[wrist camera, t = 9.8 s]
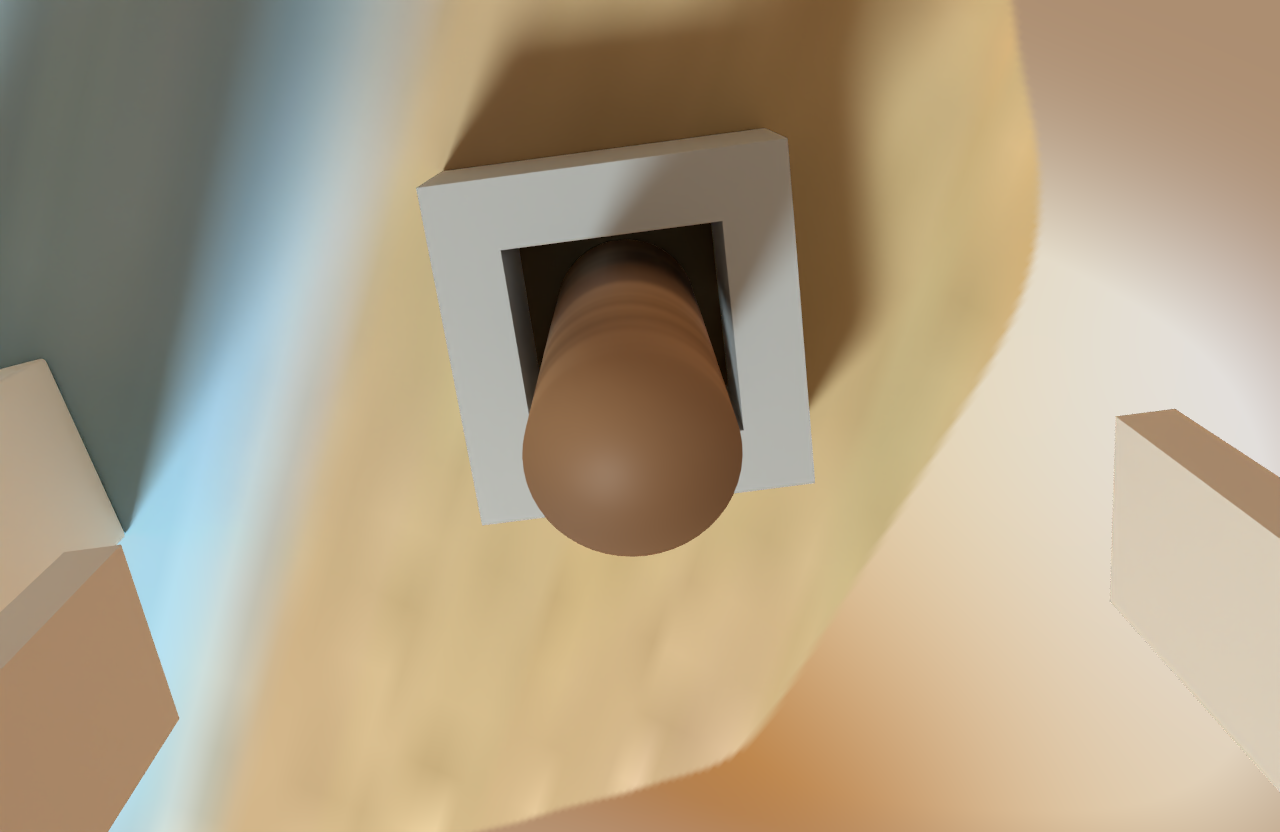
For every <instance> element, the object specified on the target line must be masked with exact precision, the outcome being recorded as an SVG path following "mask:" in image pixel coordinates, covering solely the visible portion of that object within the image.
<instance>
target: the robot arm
mask: <svg viewBox="0 0 1280 832" xmlns="http://www.w3.org/2000/svg"><path fill="white" fill-rule="evenodd" d="M1113 490H1114V491H1113V521H1112V551H1111V552H1112V553H1111V581H1110V582H1111V584H1110V602H1111V603H1112V604H1113V605H1114V607H1115V608H1116V609H1117V610H1118V611H1119V612H1120V613H1121V614H1122V616H1123V617H1124V618H1125V619H1126V620H1127V621H1128V622H1129V623H1130V625H1131V626H1132V627H1133V628H1134V629H1135V630H1136V631H1137V632H1138V634H1139V635H1140V636H1141V637H1142V638H1143V639H1144V640H1145V641H1146V643H1147V644H1149V646H1150V647H1151V648H1152V649H1153V650H1154V651H1155V653H1156V654H1157V655H1158V656H1159V657H1160V658H1161V659H1162V660H1163V662H1164V663H1165V664H1166V665H1167V666H1168V667H1169V668H1170V669H1171V671H1172V672H1173V673H1174V674H1175V675H1176V676H1177V677H1178V678H1179V680H1180V681H1181V682H1182V683H1183V684H1184V685H1185V686H1186V688H1187V689H1188V690H1189V691H1190V692H1191V693H1192V694H1193V695H1194V697H1195V698H1196V699H1197V700H1198V701H1199V702H1200V703H1201V704H1202V705H1203V707H1204V708H1205V709H1206V710H1207V711H1208V712H1209V713H1210V715H1211V716H1212V717H1213V718H1214V719H1215V720H1216V721H1217V722H1218V723H1219V725H1220V726H1221V727H1222V728H1223V729H1224V730H1225V731H1226V732H1227V734H1228V735H1229V736H1230V737H1231V738H1232V739H1233V740H1234V741H1235V743H1237V745H1238V746H1239V747H1240V748H1241V749H1242V750H1243V752H1244V753H1245V754H1246V755H1247V756H1248V757H1249V758H1250V759H1251V761H1252V762H1253V763H1254V764H1255V765H1256V766H1257V767H1258V768H1259V770H1260V771H1261V772H1262V773H1263V774H1264V775H1265V776H1266V777H1267V779H1268V780H1269V781H1270V782H1271V783H1272V784H1273V785H1274V786H1275V788H1276V789H1277V790H1278V791H1279V792H1280V477H1278V476H1277V475H1275V474H1274V473H1272V472H1271V471H1269V470H1267V469H1266V468H1264V467H1263V466H1261V465H1260V464H1258V463H1257V462H1255V461H1254V460H1252V459H1251V458H1249V457H1248V456H1246V455H1244V454H1243V453H1242V452H1240V451H1238V450H1237V449H1235V448H1234V447H1232V446H1231V445H1229V444H1228V443H1226V442H1225V441H1223V440H1222V439H1220V438H1219V437H1217V436H1215V435H1214V434H1213V433H1211V432H1209V431H1208V430H1206V429H1205V428H1203V427H1202V426H1200V425H1199V424H1197V423H1196V422H1194V421H1193V420H1191V419H1190V418H1188V417H1187V416H1185V415H1183V414H1182V413H1180V412H1179V411H1177V410H1176V409H1170V410H1162V411H1155V412H1147V413H1139V414H1132V415H1124V416H1116V427H1115V459H1114V489H1113ZM178 720H179V716H178V713H177V710H176V707H175V704H174V701H173V698H172V695H171V692H170V689H169V686H168V683H167V680H166V677H165V674H164V671H163V669H162V666H161V663H160V660H159V657H158V654H157V651H156V648H155V645H154V642H153V639H152V636H151V633H150V630H149V627H148V624H147V621H146V618H145V615H144V612H143V609H142V606H141V603H140V600H139V597H138V594H137V591H136V588H135V585H134V582H133V579H132V576H131V573H130V570H129V567H128V564H127V561H126V558H125V555H124V552H123V549H122V546H121V545H115V546H107V547H100V548H92V549H84V550H76V551H69V552H64V553H62V554H61V555H60V556H59V557H58V558H57V559H56V560H55V561H54V562H53V563H52V564H51V565H50V566H49V567H48V568H47V569H46V570H44V571H43V572H42V573H41V574H40V575H39V576H38V577H37V578H36V579H35V580H34V581H33V582H32V583H31V584H30V585H29V586H27V587H26V588H25V589H24V590H23V591H22V592H21V593H20V594H19V595H18V596H17V597H16V598H15V599H14V600H13V601H12V602H11V603H9V604H8V605H7V606H6V607H5V608H4V609H3V610H2V611H1V612H0V832H108V831H109V829H110V828H111V826H112V824H113V823H114V821H115V820H116V818H117V816H118V815H119V813H120V812H121V810H122V809H123V807H124V805H125V804H126V802H127V801H128V799H129V797H130V796H131V794H132V793H133V791H134V790H135V788H136V786H137V785H138V783H139V782H140V780H141V778H142V777H143V775H144V774H145V772H146V771H147V769H148V767H149V766H150V764H151V763H152V761H153V759H154V758H155V756H156V755H157V753H158V751H159V750H160V748H161V747H162V745H163V744H164V742H165V740H166V739H167V737H168V736H169V734H170V732H171V731H172V729H173V728H174V726H175V725H176V723H177V721H178Z"/></svg>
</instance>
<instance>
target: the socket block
mask: <svg viewBox="0 0 1280 832" xmlns="http://www.w3.org/2000/svg"><path fill="white" fill-rule="evenodd" d="M416 189H417V194H418V200H419V205H420V210H421V215H422V220H423V225H424V230H425V235H426V240H427V246H428V251H429V256H430V261H431V266H432V271H433V276H434V281H435V286H436V292H437V297H438V302H439V307H440V312H441V317H442V322H443V327H444V332H445V338H446V343H447V348H448V353H449V358H450V363H451V368H452V373H453V378H454V384H455V389H456V394H457V399H458V404H459V409H460V414H461V419H462V424H463V430H464V435H465V440H466V445H467V450H468V455H469V460H470V465H471V470H472V476H473V481H474V486H475V491H476V496H477V501H478V506H479V511H480V517H481V522H482V525H489V524H497V523H505V522H513V521H520V520H528V519H536V518H544V517H545V516H544V515H543V513H542V512H541V511H540V509H539V508H538V506H537V504H536V503H535V501H534V499H533V497H532V495H531V493H530V490H529V488H528V485H527V482H526V478H525V474H524V469H523V460H522V450H523V440H524V434H525V429H526V425H527V421H528V417H529V413H530V409H531V404H532V400H533V396H534V392H535V388H536V384H537V380H538V376H539V372H540V371H539V365H538V359H537V353H536V347H535V341H534V335H533V329H532V323H531V317H530V311H529V305H528V299H527V293H526V287H525V281H524V275H523V269H522V263H521V257H520V251H519V248H522V247H530V246H537V245H545V244H552V243H560V242H567V241H575V240H582V239H590V238H597V237H605V236H613V235H620V234H628V233H635V232H643V231H650V230H658V229H665V228H673V227H680V226H688V225H696V224H703V223H711V228H712V238H713V247H714V257H715V266H716V276H717V285H718V295H719V304H720V314H721V323H722V333H723V342H724V352H725V361H726V371H727V380H728V385H725V387H726V390H727V393H728V395H729V398H730V401H731V404H732V407H733V410H734V413H735V416H736V419H737V422H738V425H739V429H740V433H741V439H742V452H743V458H742V467H741V473H740V477H739V481H738V484H737V486H736V489H735V491H734V493H740V492H748V491H756V490H764V489H772V488H780V487H788V486H795V485H803V484H811V483H815V477H814V464H813V451H812V439H811V426H810V413H809V401H808V388H807V376H806V363H805V350H804V338H803V325H802V313H801V300H800V287H799V275H798V262H797V249H796V237H795V224H794V212H793V199H792V186H791V174H790V161H789V149H788V138H786V137H784V136H782V135H779V134H777V133H775V132H773V131H771V130H768V129H766V128H761V129H753V130H746V131H738V132H731V133H723V134H716V135H708V136H701V137H693V138H686V139H679V140H671V141H664V142H656V143H649V144H641V145H634V146H626V147H619V148H611V149H604V150H597V151H589V152H582V153H574V154H567V155H559V156H552V157H544V158H537V159H529V160H522V161H515V162H507V163H500V164H492V165H485V166H477V167H470V168H462V169H455V170H447V171H442V172H440V173H439V174H437V175H436V176H434V177H433V178H431V179H429V180H428V181H426V182H425V183H423V184H422V185H420V186H419V187H417V188H416Z"/></svg>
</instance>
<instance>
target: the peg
mask: <svg viewBox="0 0 1280 832" xmlns="http://www.w3.org/2000/svg"><path fill="white" fill-rule="evenodd" d="M742 458H743V452H742V439H741V433H740V429H739V425H738V422H737V419H736V416H735V413H734V410H733V407H732V404H731V401H730V398H729V395H728V393H727V390H726V387H725V384H724V381H723V378H722V375H721V372H720V369H719V366H718V363H717V360H716V357H715V354H714V351H713V348H712V345H711V342H710V339H709V336H708V333H707V330H706V327H705V324H704V321H703V318H702V315H701V312H700V309H699V306H698V304H697V301H696V298H695V295H694V292H693V289H692V286H691V283H690V280H689V278H688V276H687V274H686V273H685V271H684V270H683V268H682V267H681V265H680V264H679V263H678V262H677V261H676V260H675V259H674V258H673V257H672V256H671V255H670V254H669V253H667V252H666V251H664V250H663V249H661V248H659V247H657V246H655V245H653V244H650V243H647V242H644V241H639V240H630V239H622V240H614V241H609V242H606V243H603V244H600V245H598V246H596V247H594V248H592V249H590V250H588V251H587V252H585V253H584V254H583V255H582V256H581V257H579V258H578V259H577V260H576V261H575V262H574V264H573V265H572V266H571V267H570V269H569V270H568V272H567V273H566V275H565V277H564V279H563V281H562V284H561V287H560V290H559V294H558V298H557V302H556V307H555V311H554V315H553V319H552V323H551V327H550V331H549V335H548V339H547V343H546V347H545V351H544V356H543V360H542V364H541V368H540V372H539V376H538V380H537V384H536V388H535V392H534V396H533V400H532V404H531V409H530V413H529V417H528V421H527V425H526V429H525V434H524V440H523V450H522V460H523V469H524V474H525V478H526V482H527V485H528V488H529V490H530V493H531V495H532V497H533V499H534V501H535V503H536V504H537V506H538V508H539V509H540V511H541V512H542V513H543V515H544V516H545V517H546V518H547V520H548V521H549V522H550V523H551V524H552V525H553V526H554V527H555V528H556V529H558V530H559V531H560V532H562V533H563V534H564V535H565V536H567V537H568V538H570V539H572V540H573V541H575V542H577V543H578V544H580V545H583V546H585V547H587V548H590V549H592V550H595V551H599V552H602V553H605V554H611V555H617V556H647V555H652V554H658V553H662V552H665V551H668V550H671V549H674V548H677V547H679V546H681V545H683V544H685V543H687V542H689V541H691V540H692V539H694V538H695V537H697V536H699V535H700V534H701V533H702V532H704V531H705V530H706V529H707V528H709V527H710V526H711V525H712V524H713V523H714V522H715V521H716V519H717V518H718V517H719V516H720V515H721V513H722V512H723V511H724V509H725V508H726V507H727V505H728V503H729V501H730V500H731V498H732V496H733V494H734V491H735V489H736V486H737V484H738V481H739V477H740V473H741V467H742Z"/></svg>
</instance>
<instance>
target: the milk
mask: <svg viewBox="0 0 1280 832" xmlns="http://www.w3.org/2000/svg"><path fill="white" fill-rule="evenodd" d="M123 537H124V531H123V529H122V527H121V524H120V522H119V520H118V518H117V516H116V513H115V511H114V509H113V507H112V505H111V502H110V500H109V498H108V496H107V494H106V492H105V489H104V487H103V485H102V483H101V481H100V478H99V476H98V474H97V472H96V470H95V467H94V465H93V463H92V461H91V459H90V457H89V454H88V452H87V450H86V448H85V446H84V443H83V441H82V439H81V437H80V435H79V432H78V430H77V428H76V426H75V424H74V421H73V419H72V417H71V415H70V413H69V411H68V408H67V406H66V404H65V402H64V400H63V397H62V395H61V393H60V391H59V389H58V386H57V384H56V382H55V380H54V378H53V375H52V373H51V371H50V369H49V367H48V365H47V363H46V361H45V360H44V359H37V360H33V361H29V362H26V363H22V364H18V365H14V366H10V367H6V368H2V369H0V612H1V611H2V610H3V609H4V608H5V607H6V606H7V605H8V604H9V603H11V602H12V601H13V600H14V599H15V598H16V597H17V596H18V595H19V594H20V593H21V592H22V591H23V590H24V589H25V588H26V587H27V586H29V585H30V584H31V583H32V582H33V581H34V580H35V579H36V578H37V577H38V576H39V575H40V574H41V573H42V572H43V571H44V570H46V569H47V568H48V567H49V566H50V565H51V564H52V563H53V562H54V561H55V560H56V559H57V558H58V557H59V556H60V555H61V554H62V553H64V552H69V551H76V550H84V549H92V548H100V547H107V546H115V545H116V544H117V543H118V542H119V541H120V540H121V539H122V538H123Z"/></svg>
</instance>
